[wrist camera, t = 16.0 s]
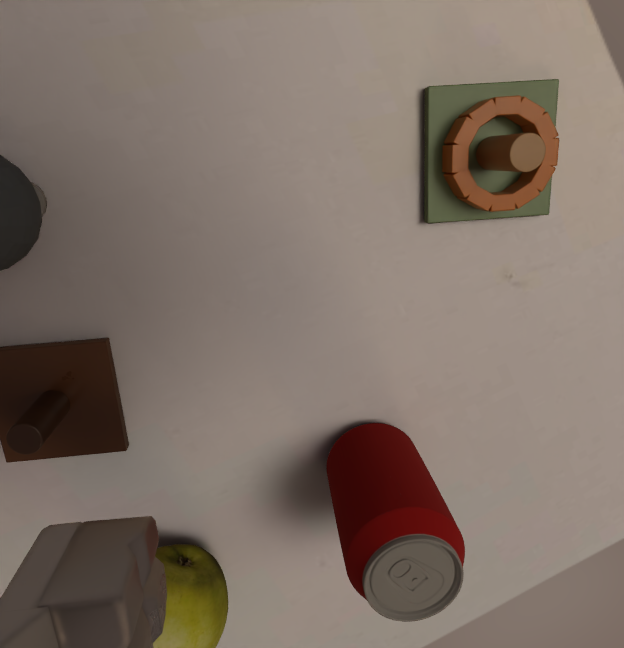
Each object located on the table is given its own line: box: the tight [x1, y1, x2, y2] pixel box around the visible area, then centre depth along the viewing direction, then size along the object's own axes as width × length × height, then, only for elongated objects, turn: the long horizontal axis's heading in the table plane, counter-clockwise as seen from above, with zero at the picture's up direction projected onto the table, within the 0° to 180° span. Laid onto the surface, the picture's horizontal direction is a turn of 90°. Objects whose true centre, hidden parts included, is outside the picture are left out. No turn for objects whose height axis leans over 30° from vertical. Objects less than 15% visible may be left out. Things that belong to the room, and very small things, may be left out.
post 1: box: [0, 338, 129, 462], centre depth 33 cm, size 8×8×6 cm
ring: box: [442, 96, 559, 212], centre depth 32 cm, size 6×6×2 cm
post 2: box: [424, 79, 559, 223], centre depth 31 cm, size 8×8×6 cm
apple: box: [153, 544, 228, 648], centre depth 37 cm, size 8×9×8 cm
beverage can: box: [326, 423, 465, 622], centre depth 33 cm, size 7×7×12 cm
